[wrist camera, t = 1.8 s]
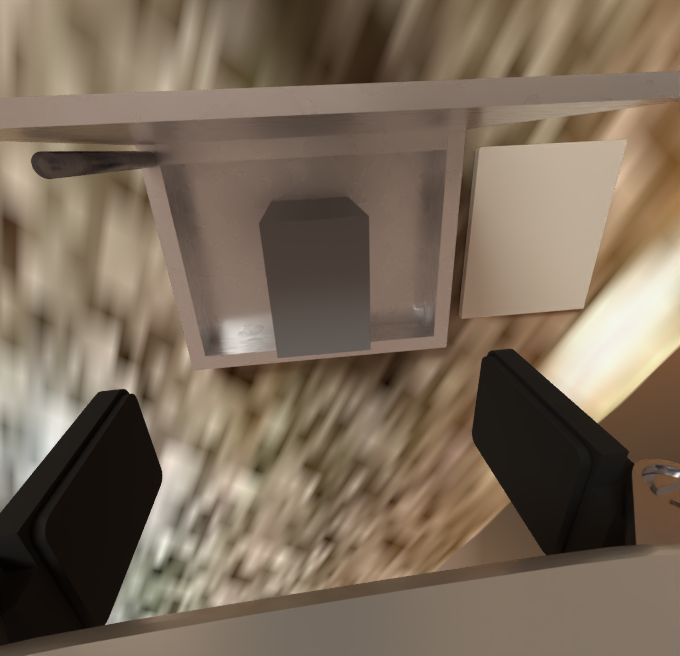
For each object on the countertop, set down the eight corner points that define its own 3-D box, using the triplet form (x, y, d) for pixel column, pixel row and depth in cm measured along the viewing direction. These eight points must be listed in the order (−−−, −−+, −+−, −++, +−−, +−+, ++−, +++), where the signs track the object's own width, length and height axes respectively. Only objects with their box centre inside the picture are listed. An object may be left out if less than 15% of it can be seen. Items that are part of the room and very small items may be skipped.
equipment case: (447, 122, 23) (731, 68, 8) (432, 329, 30) (575, 519, 14) (152, 136, 22) (-179, 104, 7) (203, 349, 28) (91, 581, 13)
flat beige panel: (620, 139, 25) (627, 139, 24) (578, 305, 30) (583, 308, 29) (475, 147, 24) (479, 147, 23) (458, 315, 29) (461, 318, 29)
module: (348, 196, 24) (369, 216, 17) (351, 297, 27) (370, 349, 20) (271, 201, 24) (259, 223, 17) (283, 302, 27) (277, 358, 20)
